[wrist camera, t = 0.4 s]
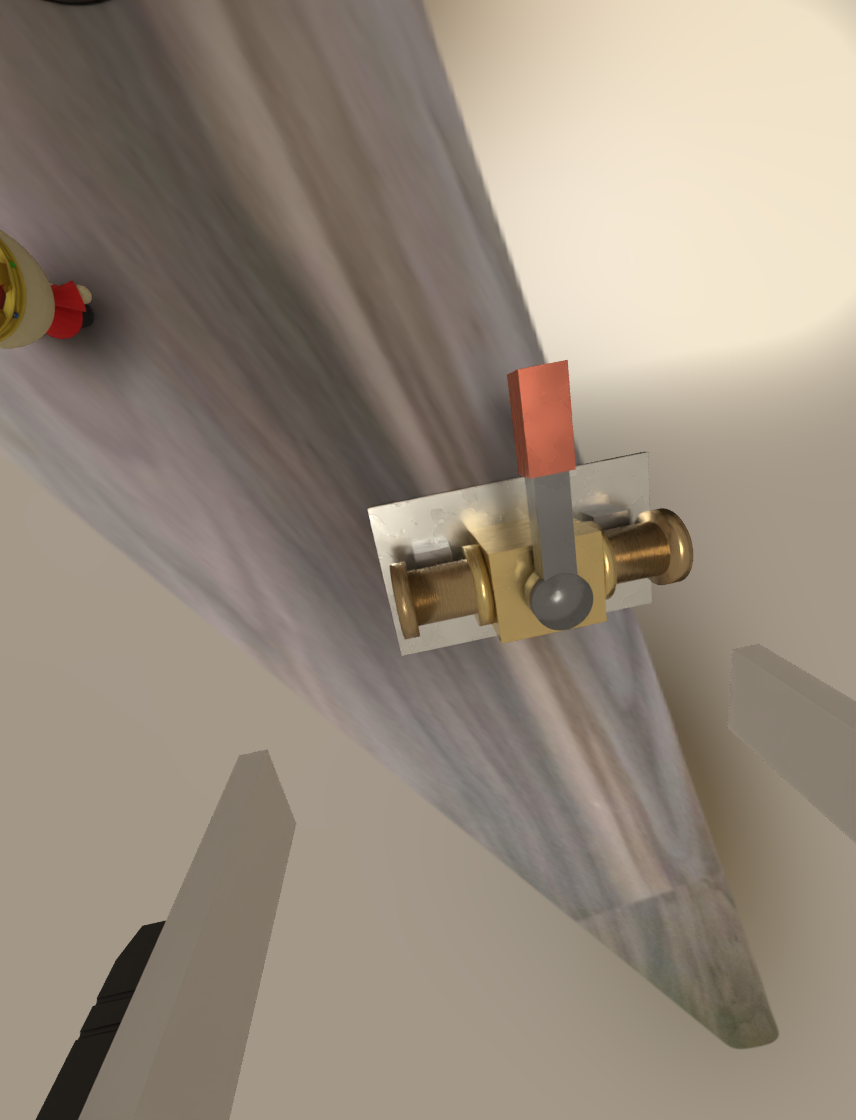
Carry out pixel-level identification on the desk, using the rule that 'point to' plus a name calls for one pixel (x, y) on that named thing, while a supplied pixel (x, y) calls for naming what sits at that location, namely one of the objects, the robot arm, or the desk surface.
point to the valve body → (521, 554)
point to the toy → (36, 300)
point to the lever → (549, 492)
